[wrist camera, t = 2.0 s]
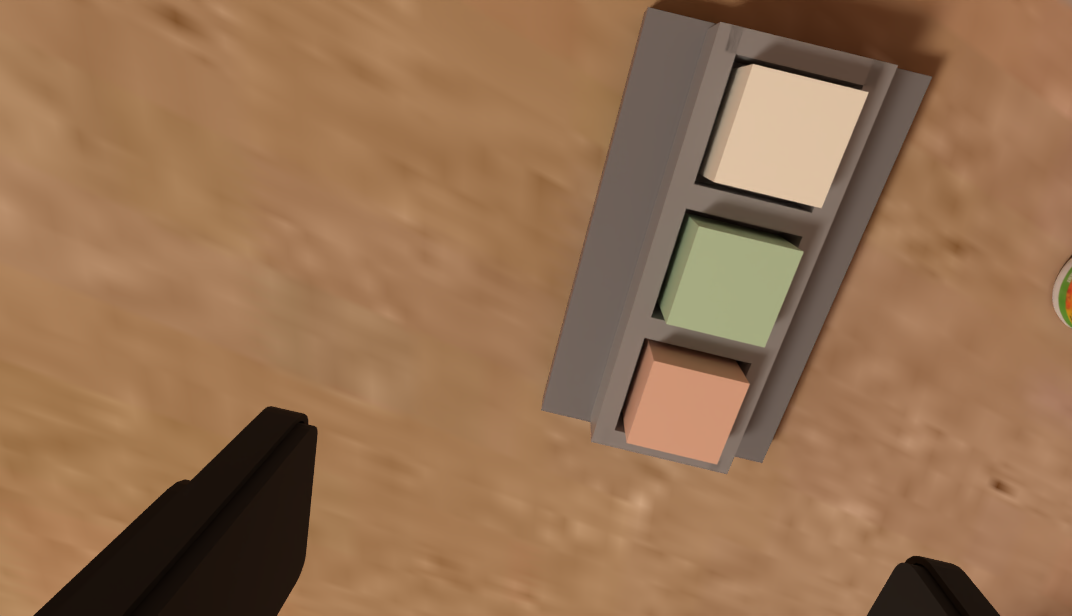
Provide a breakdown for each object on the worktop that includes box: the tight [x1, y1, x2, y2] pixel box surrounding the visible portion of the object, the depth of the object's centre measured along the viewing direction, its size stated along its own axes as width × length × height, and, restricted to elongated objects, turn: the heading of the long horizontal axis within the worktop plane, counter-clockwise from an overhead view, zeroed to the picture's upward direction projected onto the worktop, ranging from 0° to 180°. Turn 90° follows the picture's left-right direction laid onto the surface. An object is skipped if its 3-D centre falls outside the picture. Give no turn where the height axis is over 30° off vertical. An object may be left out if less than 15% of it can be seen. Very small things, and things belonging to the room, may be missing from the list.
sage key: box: [657, 213, 803, 348], centre depth 26 cm, size 5×5×3 cm
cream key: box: [699, 64, 869, 208], centre depth 24 cm, size 5×5×3 cm
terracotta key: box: [622, 338, 750, 464], centre depth 29 cm, size 5×5×3 cm
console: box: [541, 7, 932, 474], centre depth 28 cm, size 13×21×4 cm, turn 167°
